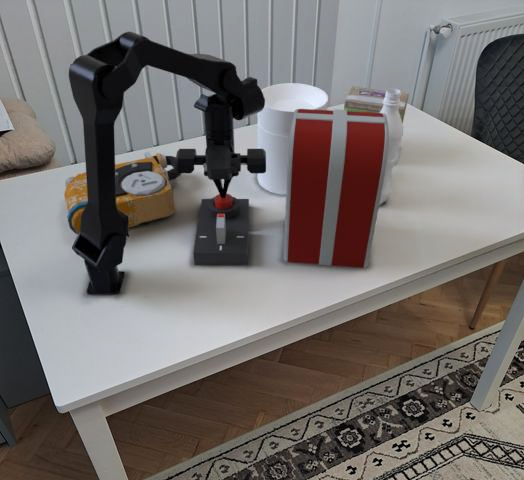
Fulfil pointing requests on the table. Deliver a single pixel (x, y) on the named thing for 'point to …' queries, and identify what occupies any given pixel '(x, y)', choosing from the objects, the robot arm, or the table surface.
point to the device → (130, 190)
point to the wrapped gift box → (334, 185)
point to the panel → (221, 245)
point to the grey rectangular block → (221, 229)
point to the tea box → (371, 101)
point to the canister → (282, 128)
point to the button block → (225, 211)
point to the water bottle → (391, 137)
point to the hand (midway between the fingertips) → (223, 197)
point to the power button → (223, 201)
